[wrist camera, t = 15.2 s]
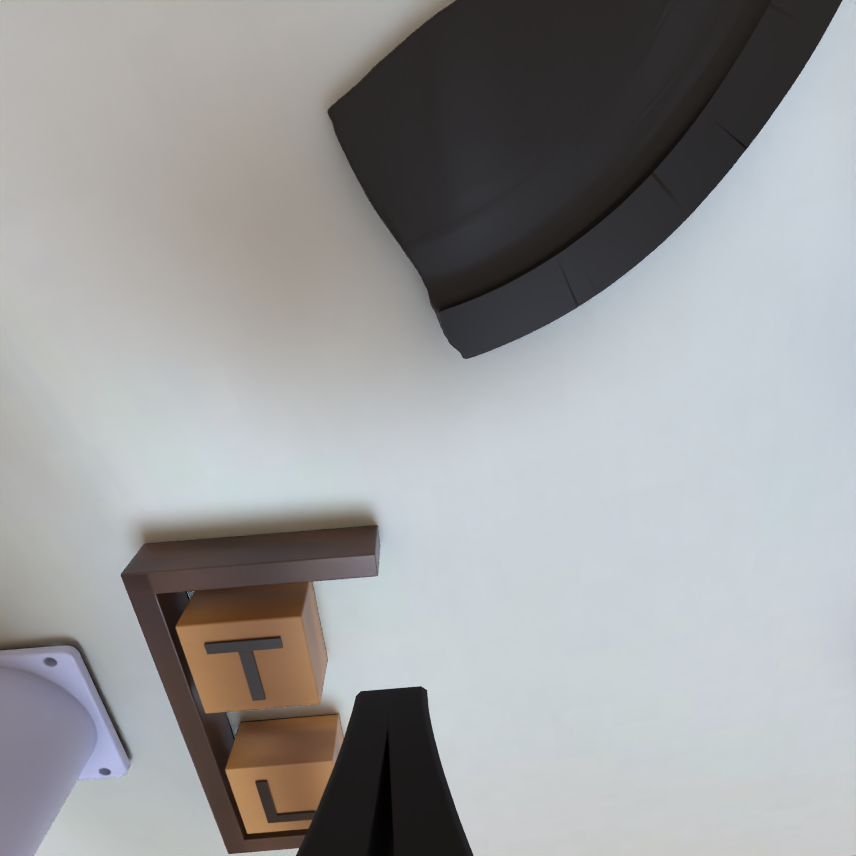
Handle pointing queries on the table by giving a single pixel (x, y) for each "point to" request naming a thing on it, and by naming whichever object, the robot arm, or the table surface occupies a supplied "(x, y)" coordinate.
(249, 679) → the t tile
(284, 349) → the table surface
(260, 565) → the frame
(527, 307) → the dark sector wedge
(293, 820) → the l tile
